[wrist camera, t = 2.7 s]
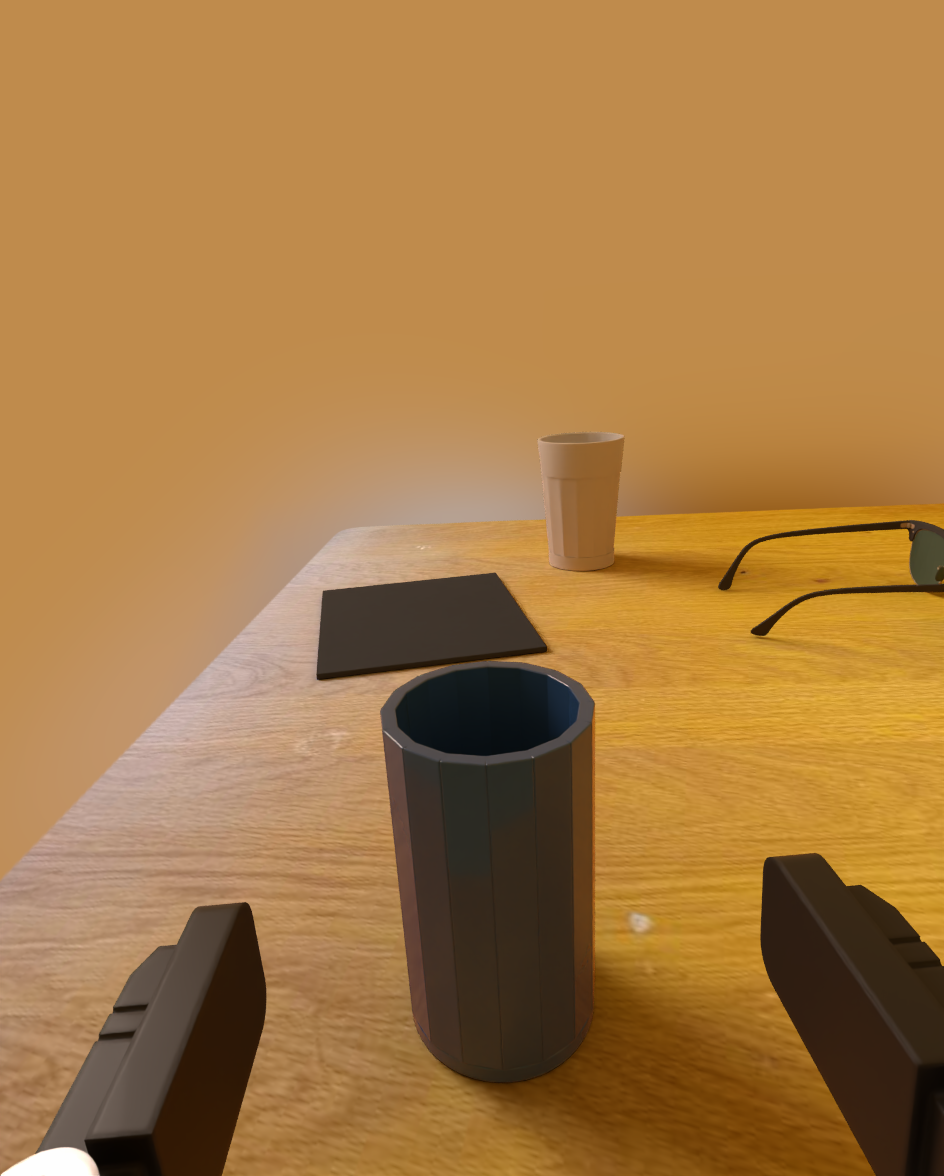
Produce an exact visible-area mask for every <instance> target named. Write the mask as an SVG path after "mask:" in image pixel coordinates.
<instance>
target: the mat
mask: <svg viewBox="0 0 944 1176" xmlns="http://www.w3.org/2000/svg"><path fill="white" fill-rule="evenodd" d="M546 651H547V646H546V645H545V643H544V642H543V641H542V639H541V638H540V636H539V635H538V633H537V632H536V630H535V629H534V628H533V626H532V625H531V623H530V622H529V620H528V619H527V617H526V616H525V615H524V613H523V612H522V610H521V609H520V607H519V606H518V604H517V603H516V602H515V600H514V599H513V597H512V596H511V594H510V593H509V591H508V590H507V589H506V587H505V586H504V584H503V583H502V581H501V580H500V578H499V577H498V576H497V574H496V573H489V574H479V575H470V576H460V577H450V578H441V579H431V580H422V581H412V582H403V583H393V584H384V585H374V586H365V587H355V588H346V589H336V590H327V591H323V596H322V609H321V622H320V635H319V649H318V662H317V679H325V678H333V677H341V676H349V675H357V674H366V673H374V672H382V671H390V670H398V669H407V668H415V667H423V666H431V665H439V664H447V663H456V662H464V661H472V660H480V659H488V658H497V657H505V656H513V655H521V654H529V653H538V652H546Z"/></svg>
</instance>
